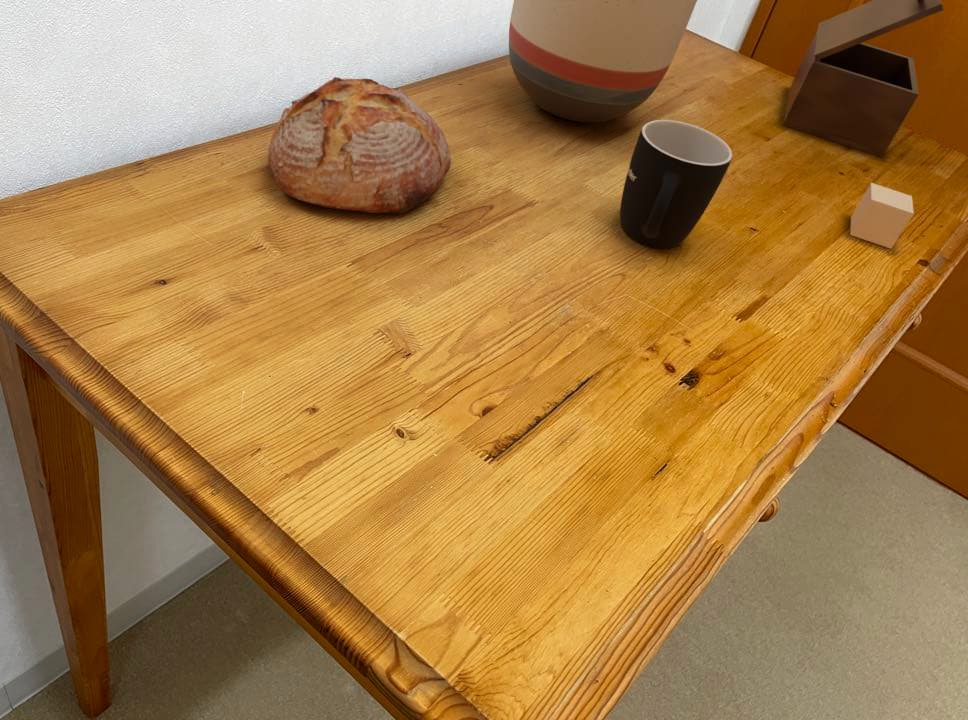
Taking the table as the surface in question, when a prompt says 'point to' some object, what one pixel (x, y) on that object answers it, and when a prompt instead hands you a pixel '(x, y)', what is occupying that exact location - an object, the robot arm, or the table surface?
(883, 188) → the block
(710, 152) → the mug
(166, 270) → the table surface
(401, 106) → the bread
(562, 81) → the planter
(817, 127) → the chest
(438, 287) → the table surface
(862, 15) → the lid
